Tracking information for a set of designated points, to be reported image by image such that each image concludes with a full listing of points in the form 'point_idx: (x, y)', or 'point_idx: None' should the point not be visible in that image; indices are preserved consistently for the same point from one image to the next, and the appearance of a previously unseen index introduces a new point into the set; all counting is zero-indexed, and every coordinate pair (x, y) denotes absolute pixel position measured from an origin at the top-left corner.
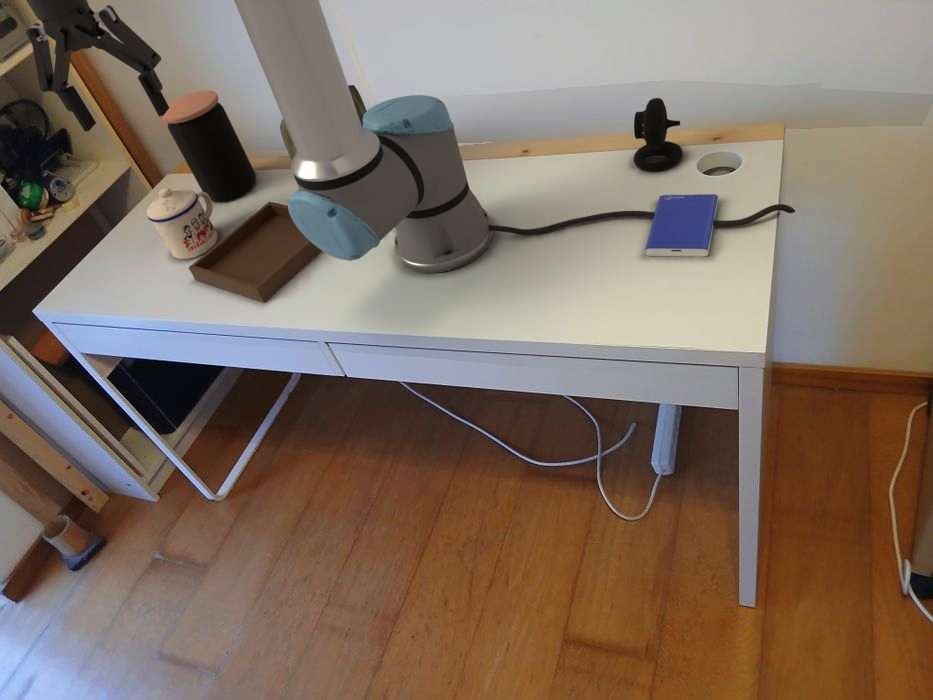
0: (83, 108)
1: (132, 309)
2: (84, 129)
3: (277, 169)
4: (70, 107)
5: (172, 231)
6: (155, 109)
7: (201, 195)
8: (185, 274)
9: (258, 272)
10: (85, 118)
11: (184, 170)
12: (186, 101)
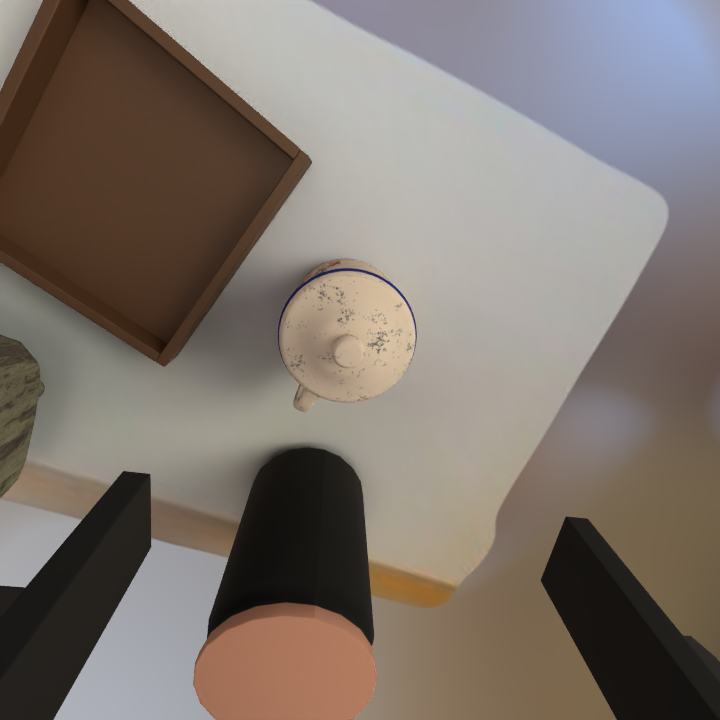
0: (602, 650)
1: (453, 104)
2: (590, 527)
3: (221, 518)
4: (689, 648)
5: (350, 267)
6: (127, 501)
7: (300, 394)
8: (346, 201)
9: (140, 111)
10: (586, 583)
11: (432, 589)
12: (300, 700)
